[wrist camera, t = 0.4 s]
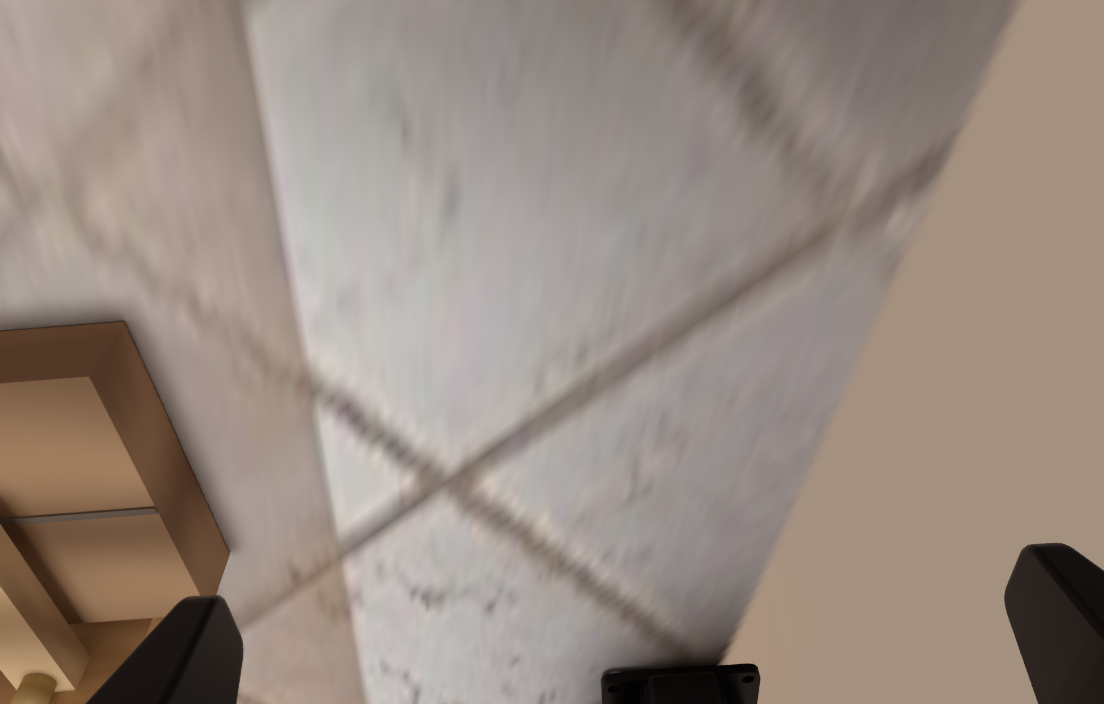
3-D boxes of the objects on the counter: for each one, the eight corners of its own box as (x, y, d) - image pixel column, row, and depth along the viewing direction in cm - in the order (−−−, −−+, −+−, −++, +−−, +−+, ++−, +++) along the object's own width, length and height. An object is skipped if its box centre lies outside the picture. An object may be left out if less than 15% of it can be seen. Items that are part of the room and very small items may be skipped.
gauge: (201, 635, 33) (156, 768, 29) (73, 644, 33) (10, 778, 29) (93, 431, 27) (15, 565, 22) (-66, 443, 27) (-173, 579, 22)
